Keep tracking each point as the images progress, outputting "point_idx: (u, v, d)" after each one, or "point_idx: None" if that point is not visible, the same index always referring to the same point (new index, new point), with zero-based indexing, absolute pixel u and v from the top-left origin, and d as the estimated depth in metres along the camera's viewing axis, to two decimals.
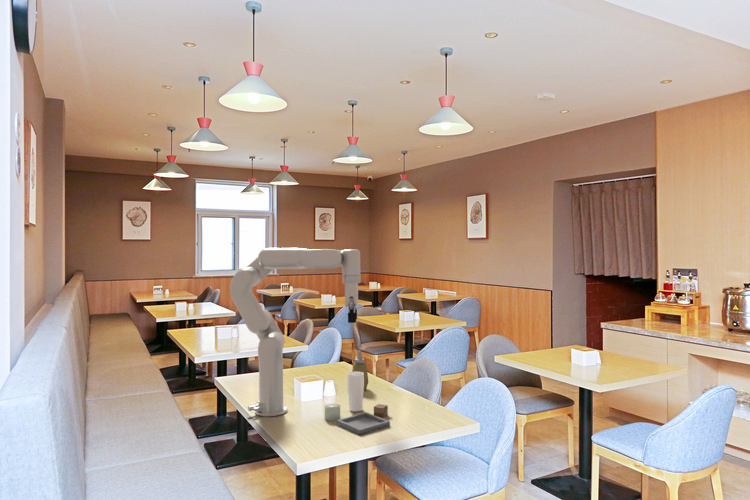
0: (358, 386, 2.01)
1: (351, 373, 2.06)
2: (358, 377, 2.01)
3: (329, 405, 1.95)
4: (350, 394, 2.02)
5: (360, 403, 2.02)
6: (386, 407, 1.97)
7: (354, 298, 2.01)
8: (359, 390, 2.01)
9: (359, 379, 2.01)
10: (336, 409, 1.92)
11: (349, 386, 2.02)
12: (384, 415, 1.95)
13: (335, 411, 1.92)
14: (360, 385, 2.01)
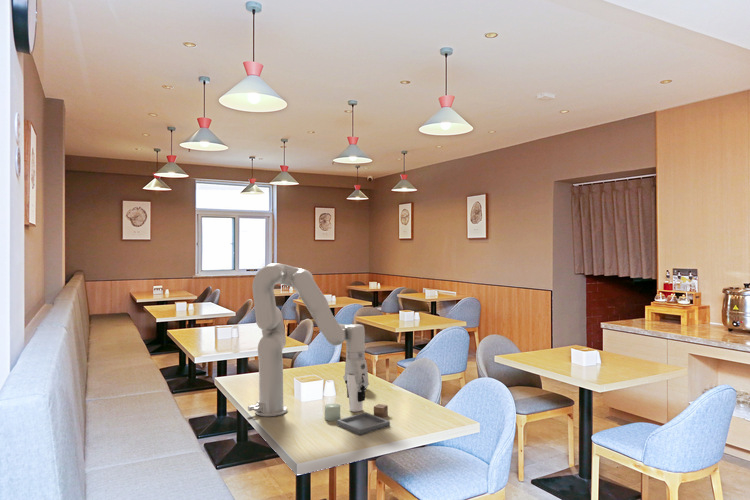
0: None
1: None
2: None
3: (329, 405, 1.95)
4: (350, 394, 2.02)
5: (360, 403, 2.02)
6: (386, 407, 1.97)
7: None
8: None
9: None
10: (336, 409, 1.92)
11: (349, 386, 2.02)
12: (384, 415, 1.95)
13: (335, 411, 1.92)
14: (360, 385, 2.01)
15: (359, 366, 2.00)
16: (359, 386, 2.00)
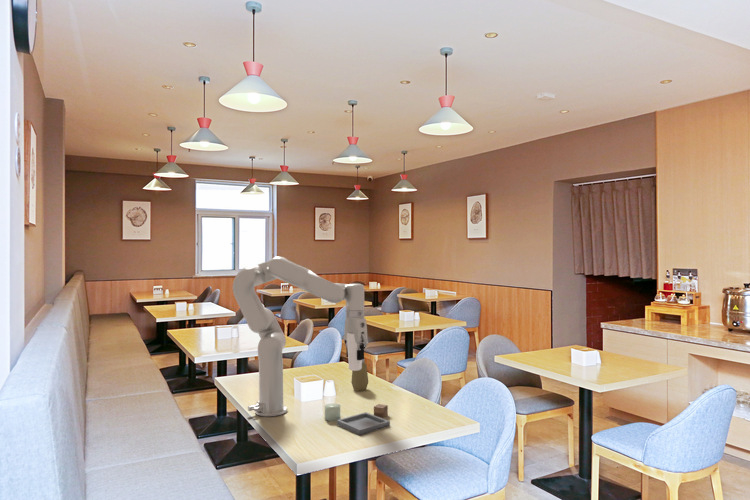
0: None
1: None
2: None
3: (329, 405, 1.95)
4: (349, 353, 2.02)
5: (359, 362, 2.02)
6: (386, 407, 1.97)
7: None
8: None
9: None
10: (336, 409, 1.92)
11: (348, 345, 2.02)
12: (384, 415, 1.95)
13: (335, 411, 1.92)
14: None
15: (359, 324, 2.00)
16: (358, 344, 2.00)
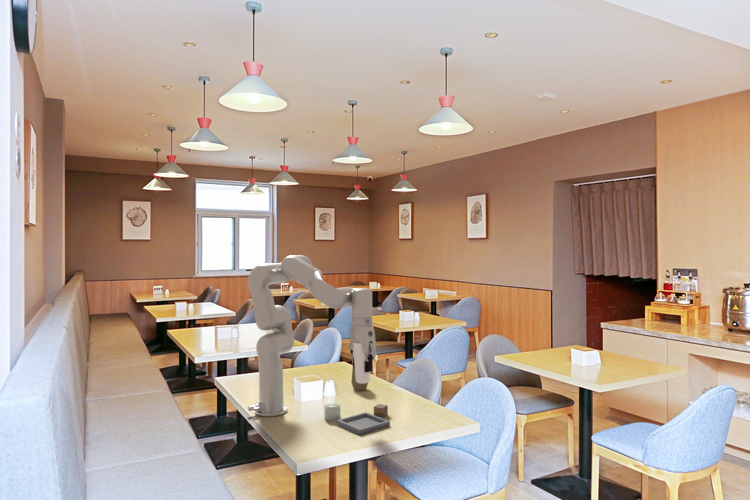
0: None
1: None
2: None
3: (329, 405, 1.95)
4: (356, 364, 1.84)
5: (367, 374, 1.84)
6: (386, 407, 1.97)
7: None
8: None
9: None
10: (336, 409, 1.92)
11: (355, 355, 1.84)
12: (384, 415, 1.95)
13: (335, 411, 1.92)
14: (367, 354, 1.84)
15: (366, 333, 1.82)
16: (366, 355, 1.82)
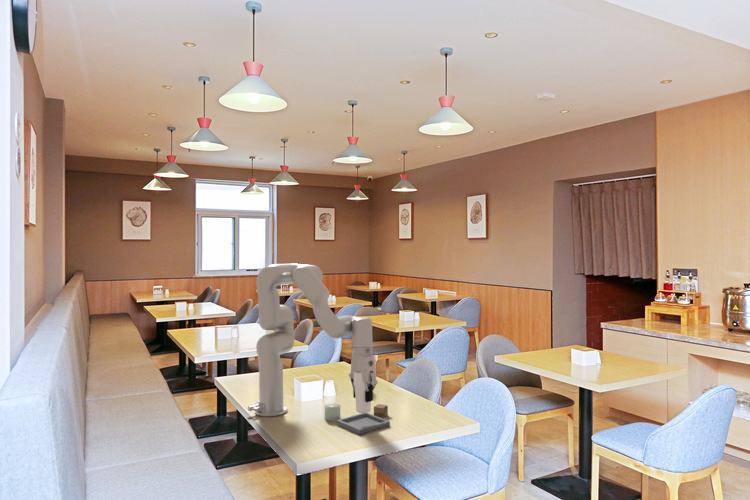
0: None
1: None
2: None
3: (329, 405, 1.95)
4: (357, 394, 1.84)
5: (368, 403, 1.84)
6: (386, 407, 1.97)
7: None
8: None
9: None
10: (336, 409, 1.92)
11: (356, 385, 1.84)
12: (384, 415, 1.95)
13: (335, 411, 1.92)
14: (368, 384, 1.83)
15: (366, 363, 1.82)
16: (367, 385, 1.82)
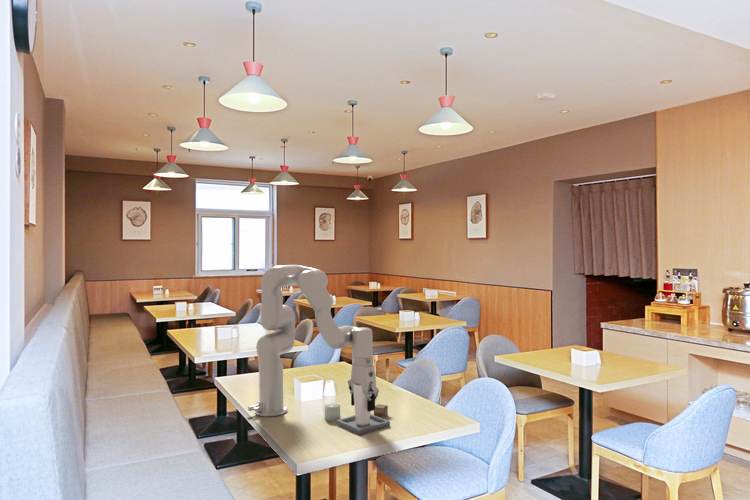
0: (365, 397, 1.83)
1: None
2: None
3: (329, 405, 1.95)
4: (356, 406, 1.84)
5: (367, 416, 1.84)
6: (386, 407, 1.97)
7: None
8: (366, 402, 1.83)
9: None
10: (336, 409, 1.92)
11: (355, 397, 1.84)
12: (384, 415, 1.95)
13: (335, 411, 1.92)
14: None
15: (367, 374, 1.82)
16: (368, 394, 1.81)
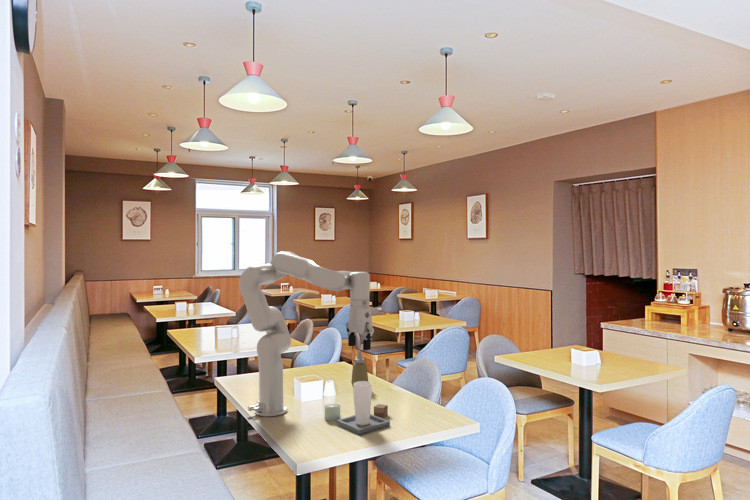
0: (365, 397, 1.83)
1: (357, 383, 1.89)
2: (365, 388, 1.83)
3: (329, 405, 1.95)
4: (356, 406, 1.84)
5: (367, 416, 1.84)
6: (386, 407, 1.97)
7: None
8: (366, 402, 1.83)
9: (367, 390, 1.83)
10: (336, 409, 1.92)
11: (355, 397, 1.84)
12: (384, 415, 1.95)
13: (335, 411, 1.92)
14: (367, 396, 1.84)
15: (363, 314, 1.90)
16: (364, 334, 1.90)
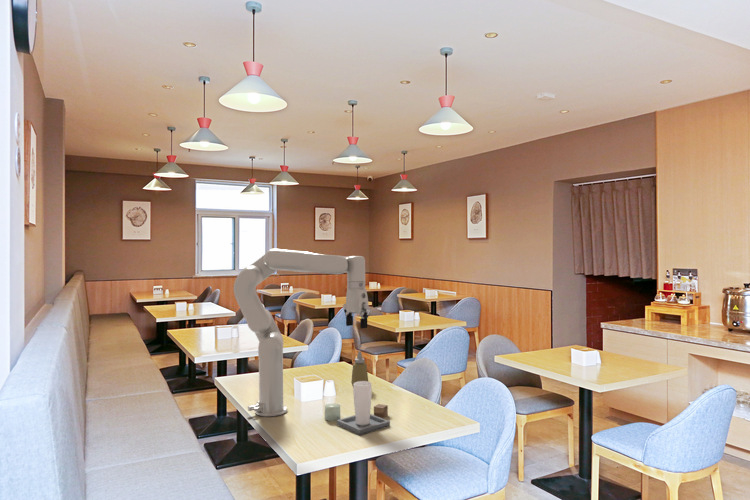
0: (365, 397, 1.83)
1: (357, 383, 1.89)
2: (365, 388, 1.83)
3: (329, 405, 1.95)
4: (356, 406, 1.84)
5: (367, 416, 1.84)
6: (386, 407, 1.97)
7: None
8: (366, 402, 1.83)
9: (367, 390, 1.83)
10: (336, 409, 1.92)
11: (355, 397, 1.84)
12: (384, 415, 1.95)
13: (335, 411, 1.92)
14: (367, 396, 1.84)
15: (360, 295, 2.04)
16: (361, 313, 2.04)
